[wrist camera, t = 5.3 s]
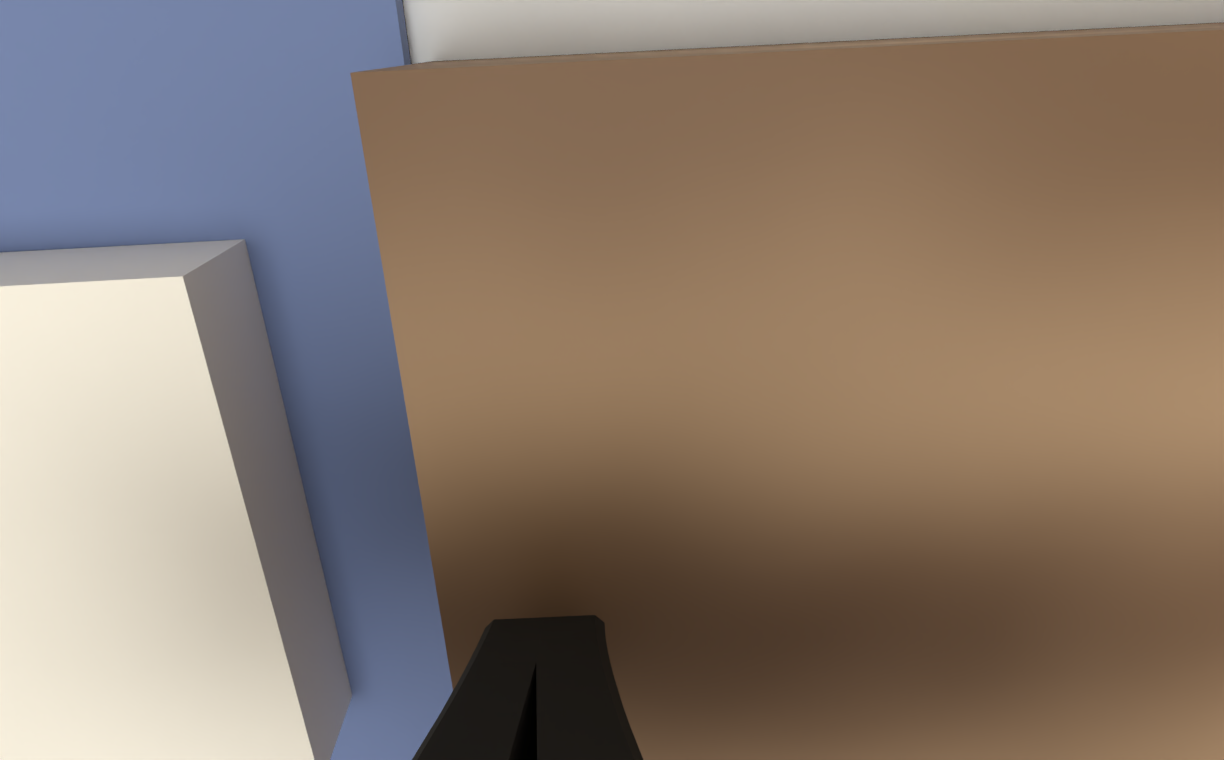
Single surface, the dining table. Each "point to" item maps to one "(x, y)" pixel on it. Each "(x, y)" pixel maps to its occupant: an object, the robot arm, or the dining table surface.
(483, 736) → the robot arm
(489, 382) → the brown wooden slab
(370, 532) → the mat
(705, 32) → the dining table surface
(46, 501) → the block
